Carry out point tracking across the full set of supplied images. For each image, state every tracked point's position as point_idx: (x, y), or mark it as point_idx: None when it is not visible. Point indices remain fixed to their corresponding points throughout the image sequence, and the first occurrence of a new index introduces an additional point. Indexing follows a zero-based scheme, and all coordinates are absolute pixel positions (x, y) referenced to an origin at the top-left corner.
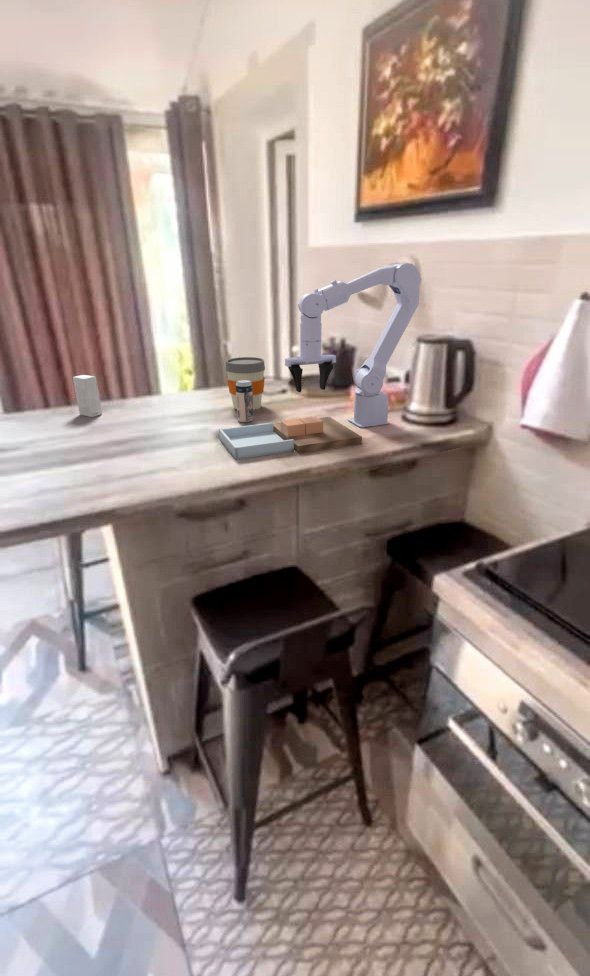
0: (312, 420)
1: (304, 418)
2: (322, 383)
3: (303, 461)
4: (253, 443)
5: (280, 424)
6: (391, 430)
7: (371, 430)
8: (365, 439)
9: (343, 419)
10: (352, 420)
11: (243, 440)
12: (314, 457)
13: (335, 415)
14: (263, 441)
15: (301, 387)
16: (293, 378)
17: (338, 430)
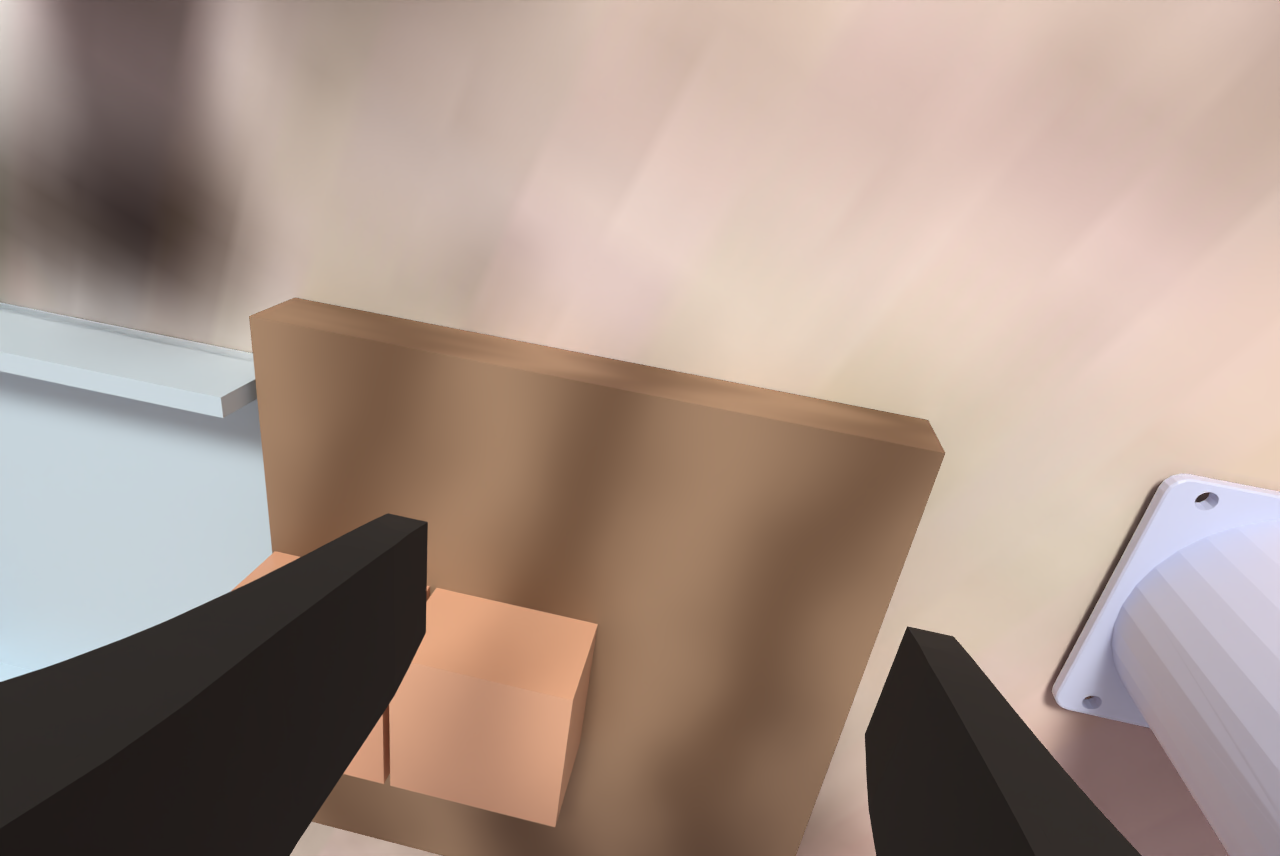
0: (480, 763)
1: (439, 687)
2: (895, 827)
3: (317, 852)
4: (77, 535)
5: (329, 386)
6: (1209, 852)
7: (1075, 769)
8: (857, 851)
9: (1179, 396)
10: (1163, 546)
11: (10, 442)
12: (392, 851)
13: (1263, 195)
14: (150, 543)
15: (378, 718)
16: (138, 652)
17: (710, 782)
